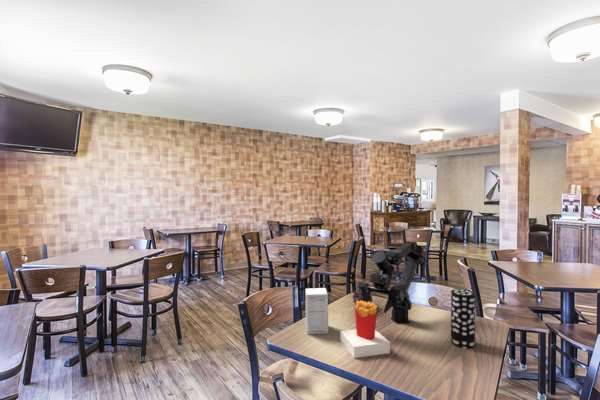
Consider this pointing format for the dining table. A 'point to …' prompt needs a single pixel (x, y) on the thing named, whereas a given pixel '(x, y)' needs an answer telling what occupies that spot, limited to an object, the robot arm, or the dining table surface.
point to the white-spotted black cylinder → (463, 318)
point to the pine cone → (360, 296)
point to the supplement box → (316, 311)
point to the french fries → (365, 319)
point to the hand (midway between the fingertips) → (373, 309)
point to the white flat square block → (364, 344)
